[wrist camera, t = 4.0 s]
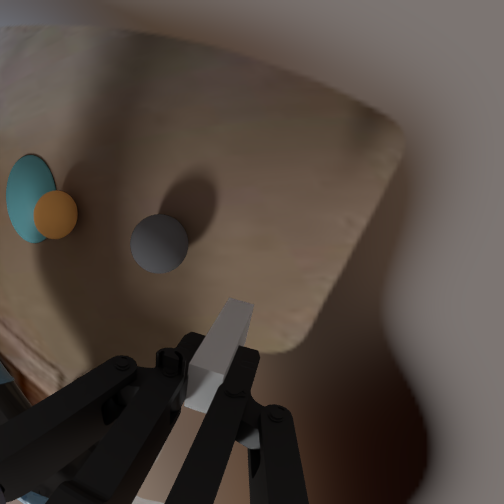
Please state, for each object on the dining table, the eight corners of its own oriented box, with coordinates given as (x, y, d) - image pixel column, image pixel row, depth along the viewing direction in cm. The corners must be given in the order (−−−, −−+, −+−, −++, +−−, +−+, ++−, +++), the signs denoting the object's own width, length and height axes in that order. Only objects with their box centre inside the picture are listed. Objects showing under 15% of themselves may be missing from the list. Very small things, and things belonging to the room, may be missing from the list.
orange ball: (94, 216, 32) (62, 227, 27) (69, 241, 34) (39, 253, 28) (72, 178, 31) (40, 183, 26) (50, 204, 33) (19, 213, 28)
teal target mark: (70, 210, 32) (69, 210, 32) (30, 257, 36) (29, 258, 36) (34, 136, 31) (33, 136, 30) (-1, 191, 34) (-2, 191, 34)
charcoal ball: (207, 246, 30) (186, 263, 25) (167, 271, 32) (142, 292, 27) (176, 199, 30) (150, 207, 24) (138, 228, 31) (109, 241, 26)
